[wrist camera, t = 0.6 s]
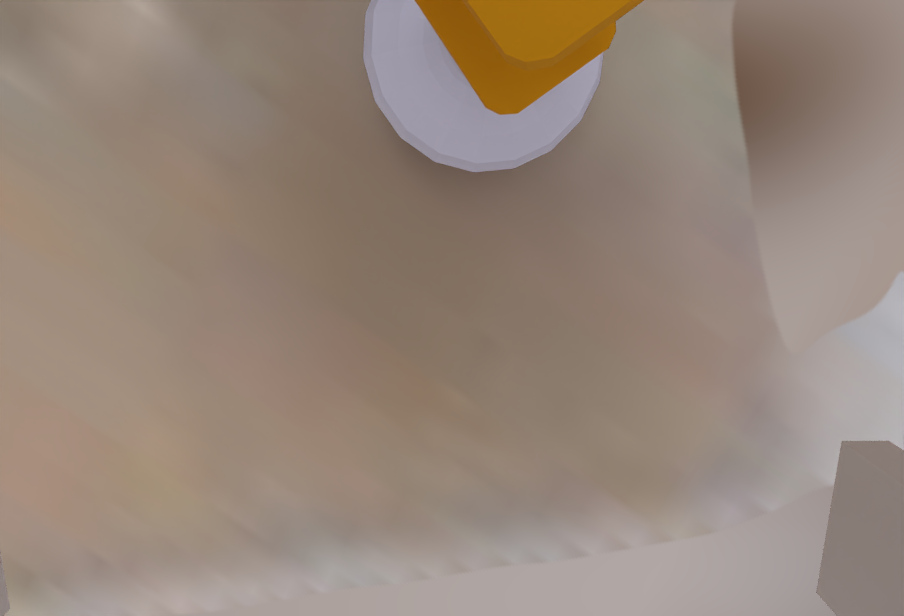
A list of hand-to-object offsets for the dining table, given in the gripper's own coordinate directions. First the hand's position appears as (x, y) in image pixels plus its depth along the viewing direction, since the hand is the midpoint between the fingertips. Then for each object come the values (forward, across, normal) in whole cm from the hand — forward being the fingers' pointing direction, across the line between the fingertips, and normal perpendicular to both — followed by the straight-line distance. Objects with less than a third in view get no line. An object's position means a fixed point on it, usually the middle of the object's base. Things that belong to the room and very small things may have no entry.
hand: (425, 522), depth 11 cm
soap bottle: (+27, +2, +9) cm, 29 cm away
